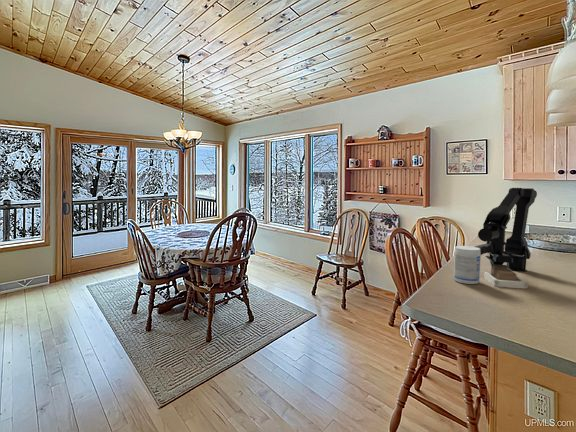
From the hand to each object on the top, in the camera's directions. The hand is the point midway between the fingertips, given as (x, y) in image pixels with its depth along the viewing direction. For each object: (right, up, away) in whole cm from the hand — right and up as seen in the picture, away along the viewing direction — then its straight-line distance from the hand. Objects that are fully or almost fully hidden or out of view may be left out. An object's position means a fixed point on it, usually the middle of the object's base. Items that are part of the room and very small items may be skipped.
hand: (494, 273), depth 134 cm
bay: (-2, -2, -9) cm, 9 cm away
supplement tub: (-17, -2, -7) cm, 19 cm away
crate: (-2, -2, -8) cm, 8 cm away
